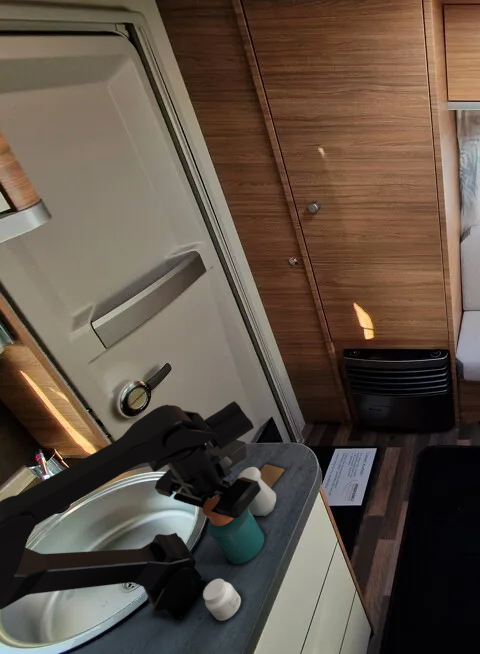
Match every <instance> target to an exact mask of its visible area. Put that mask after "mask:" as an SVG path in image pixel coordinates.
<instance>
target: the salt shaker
mask: <svg viewBox="0 0 480 654" xmlns="http://www.w3.org/2000/svg"><path fill="white" fill-rule="evenodd" d="M241 477H245V478H248V479H251V480H255V481H258V483H259V485H260V488H261V491H260V492H259V493H258V494H257V496H256V497H255V498H254V499H253V501H252V502H251V503H250V504H249V506H248V508H249V510H250V512H251V514H252V515H253V516H256V517H266V516H267V515H269V514H270V513H272V511H274V508H275V504H276V502H277V494H276V492H275V491H274V490H273V489H272V487H271V488H270V487H268V486H267V485H266V484H265V483H264V482H263V481H262V480H261V479H260V478H261V473H260V470H259V468H257V467H255V466H251V467H247V468H245V469H243V470H242V471H241V472H240V473H239V475H238V476H237V479H238V478H241Z"/></svg>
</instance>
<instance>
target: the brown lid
mask: <svg viewBox="0 0 480 654" xmlns="http://www.w3.org/2000/svg"><path fill="white" fill-rule="evenodd" d="M218 496H219V495H218V494H217V495H216V497H215V498H214V499H209V498H208V499H207V500H206V502H205V503H204V505H203V508H202V513H203V515H204V516H205V517H207V518H208V519H209V521H211V522H212V524H213V525H215V526H222V525H225V524H227V523H229V522H230V521H231V520H233V519H234V518H231V517H228V516H224V515H220V514H217V513H214V512H211V510H212V509H213V508H214V507H215V506H216V504H217V503H218V501H219V498H218Z"/></svg>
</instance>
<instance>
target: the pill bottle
mask: <svg viewBox="0 0 480 654" xmlns="http://www.w3.org/2000/svg"><path fill="white" fill-rule="evenodd" d="M202 598H203V599H204V606H205V607H206V609H207V610H208V611H209V612H210V613H211V614H212V615H213V617H214V618H215V619H216V620H218V621H220V622H221V621H226V620H228V619H230V618H232V617H233V616H235V614H236V613H237V611H238V610H239V609H240V606H241V603H242V600H241V596H240V594H239V593H238V592H237V590H236V589H235V588H234V586H233V585H232V584H231V583H230V582H228V581H225V580H224V579H222V578H215V579H213V580H211V581H210V582H209V583H208V585H207V586H206V588H205V589H204V591H203V593H202Z"/></svg>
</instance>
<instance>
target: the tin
mask: <svg viewBox="0 0 480 654" xmlns="http://www.w3.org/2000/svg"><path fill="white" fill-rule="evenodd" d="M207 532H208V534H209V536H210V537H212V538H213V540H214V541H215V543H216V544H217V546H218V547H219V548H220V549H221V551H222V552H223V555H225V557H226V559H228V561H229V562H230V563H232V564H234V565H241V564H245V563H247V562H249V561H251V560H252V559H253V558H255V557H256V556H257V555H258V554H259V552H260V551H261V550H262V548H263V545H264V543H265V535H264V533H263V531H262V529H261V527H260V526H259V524H258V522H257V521H256V518H255V517H254V515H252V514H251V512H250V510H249V508H248V507H247V508H246V509H245V511H244V512H243V513H242V515H241V516H240V517H238V518H235V519H233V520H231V521H230V522H229V523H227V524H225V525H222V526H215V525H213V524H212V522H211V521H210V520H209V521H208V523H207Z"/></svg>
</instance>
